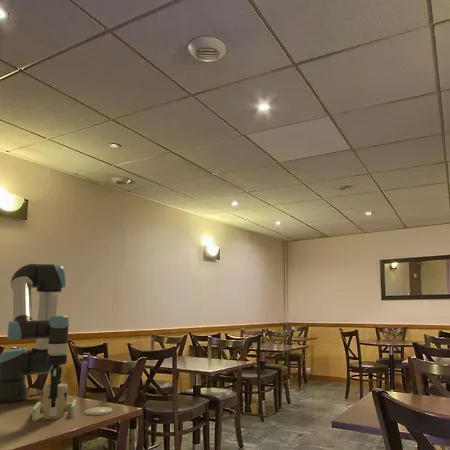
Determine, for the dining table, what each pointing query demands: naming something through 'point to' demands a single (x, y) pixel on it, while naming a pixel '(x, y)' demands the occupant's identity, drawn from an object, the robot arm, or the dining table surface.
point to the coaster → (98, 411)
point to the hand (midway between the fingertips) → (54, 412)
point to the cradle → (39, 408)
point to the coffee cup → (60, 401)
